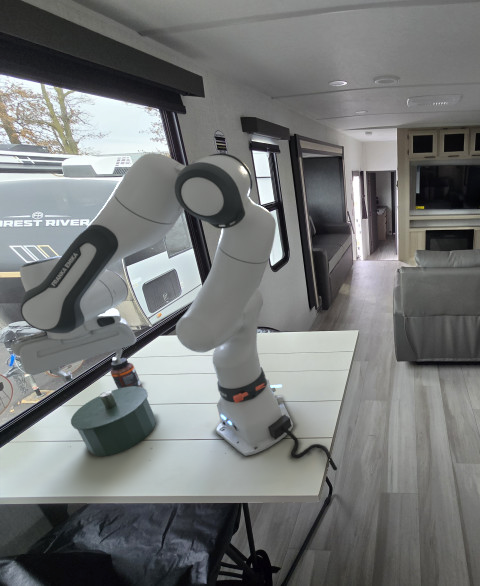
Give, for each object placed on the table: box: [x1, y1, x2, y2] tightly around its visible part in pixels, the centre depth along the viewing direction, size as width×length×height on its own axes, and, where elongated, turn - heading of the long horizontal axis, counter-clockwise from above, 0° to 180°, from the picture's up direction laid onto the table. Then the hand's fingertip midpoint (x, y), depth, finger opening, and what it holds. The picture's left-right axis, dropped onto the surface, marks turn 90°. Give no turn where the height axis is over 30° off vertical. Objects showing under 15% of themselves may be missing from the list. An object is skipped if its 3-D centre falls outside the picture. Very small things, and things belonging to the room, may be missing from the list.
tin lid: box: [70, 386, 149, 431], centre depth 82 cm, size 16×16×5 cm
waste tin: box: [77, 398, 157, 457], centre depth 85 cm, size 15×15×10 cm
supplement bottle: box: [110, 357, 142, 389], centre depth 103 cm, size 6×6×11 cm
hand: (94, 371), depth 79 cm, fingers open, 8 cm apart
